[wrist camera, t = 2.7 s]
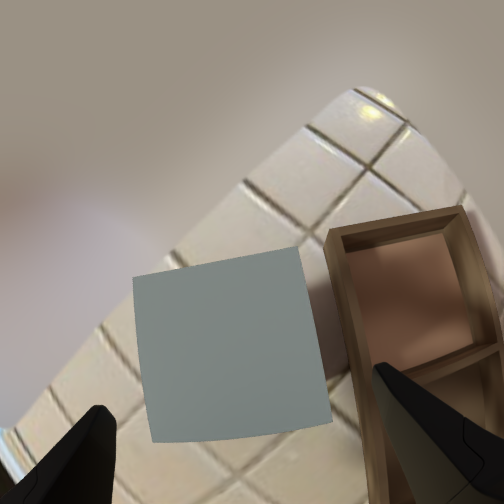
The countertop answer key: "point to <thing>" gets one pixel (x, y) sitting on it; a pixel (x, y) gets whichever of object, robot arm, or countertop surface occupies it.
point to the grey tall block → (229, 349)
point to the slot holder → (416, 325)
